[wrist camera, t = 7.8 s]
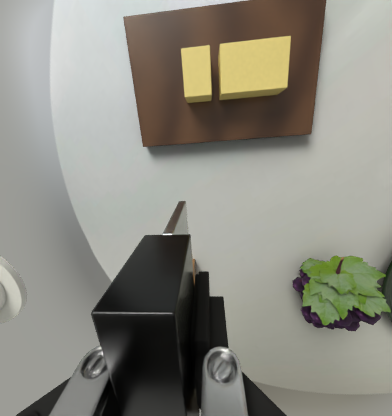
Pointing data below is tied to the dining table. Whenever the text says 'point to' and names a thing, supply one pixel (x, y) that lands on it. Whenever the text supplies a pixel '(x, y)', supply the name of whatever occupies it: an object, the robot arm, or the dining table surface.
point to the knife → (152, 325)
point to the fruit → (340, 293)
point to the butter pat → (197, 73)
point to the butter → (253, 67)
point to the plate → (388, 289)
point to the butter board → (214, 36)
